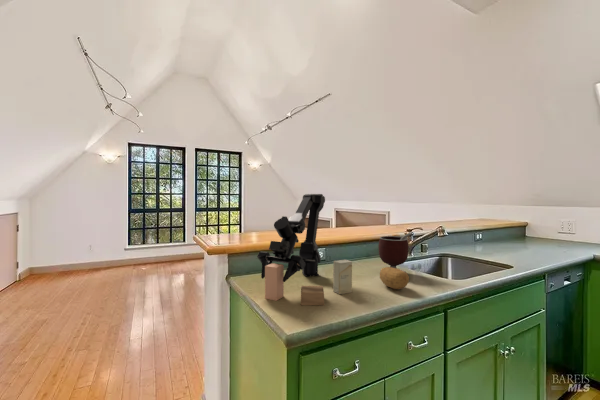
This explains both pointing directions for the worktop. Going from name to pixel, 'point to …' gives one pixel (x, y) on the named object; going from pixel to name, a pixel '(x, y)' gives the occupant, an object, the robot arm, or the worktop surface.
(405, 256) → the mate gourd
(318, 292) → the plinth
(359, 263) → the worktop surface
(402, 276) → the potato
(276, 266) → the block
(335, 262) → the skincare box
